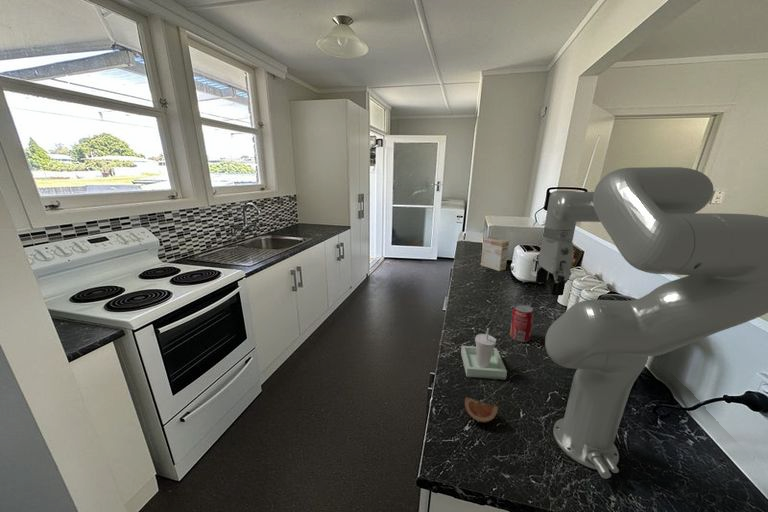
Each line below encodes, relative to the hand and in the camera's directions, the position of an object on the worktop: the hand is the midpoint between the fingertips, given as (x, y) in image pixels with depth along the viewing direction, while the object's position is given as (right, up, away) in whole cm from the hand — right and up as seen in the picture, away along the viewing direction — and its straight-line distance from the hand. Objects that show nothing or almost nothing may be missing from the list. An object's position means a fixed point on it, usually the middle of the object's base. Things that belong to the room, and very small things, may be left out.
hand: (548, 288), depth 85 cm
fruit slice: (-26, -33, -12) cm, 44 cm away
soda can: (+2, -22, +22) cm, 32 cm away
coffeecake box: (+23, +2, +102) cm, 104 cm away
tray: (-18, -27, +7) cm, 33 cm away
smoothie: (-18, -26, +7) cm, 33 cm away
